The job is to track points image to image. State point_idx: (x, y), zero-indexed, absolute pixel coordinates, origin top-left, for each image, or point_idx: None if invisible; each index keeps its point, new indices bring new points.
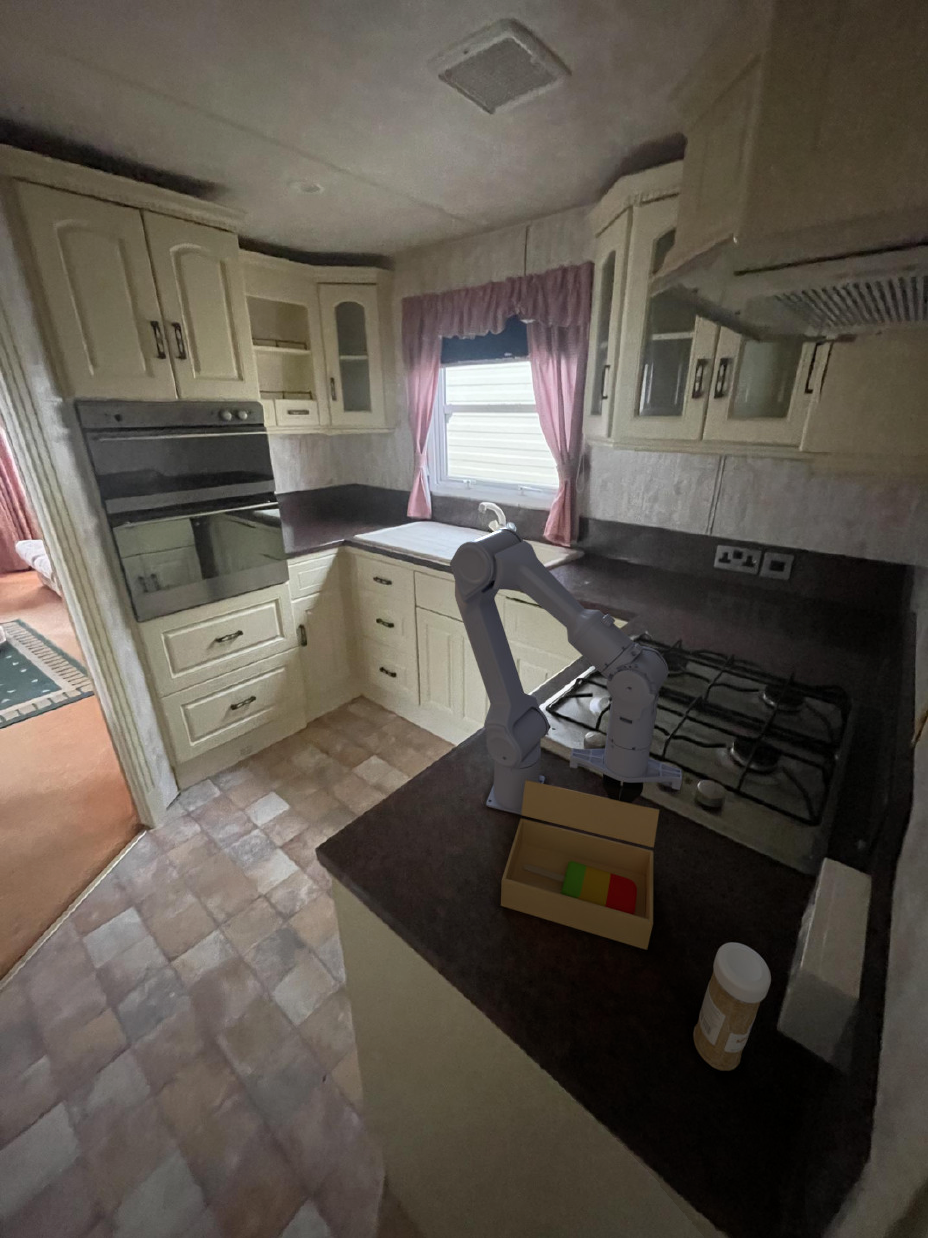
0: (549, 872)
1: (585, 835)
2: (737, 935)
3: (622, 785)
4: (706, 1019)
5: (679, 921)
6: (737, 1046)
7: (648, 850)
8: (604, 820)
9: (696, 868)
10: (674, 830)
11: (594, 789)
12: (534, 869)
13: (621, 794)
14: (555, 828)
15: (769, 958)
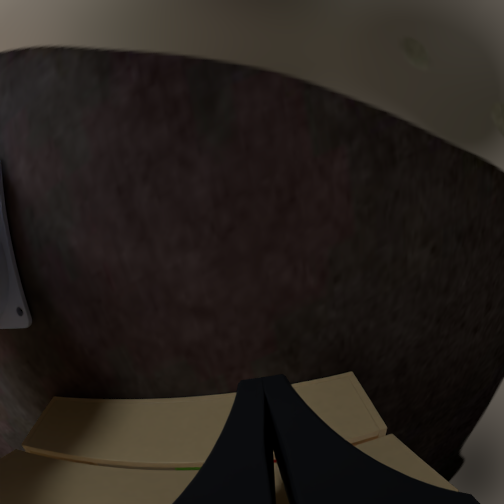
0: (145, 467)
1: (182, 466)
2: (470, 386)
3: (288, 457)
4: None
5: (398, 419)
6: None
7: (374, 434)
8: None
9: (449, 291)
10: (412, 185)
11: (139, 106)
12: (118, 467)
13: (287, 473)
14: (98, 462)
15: (491, 390)
